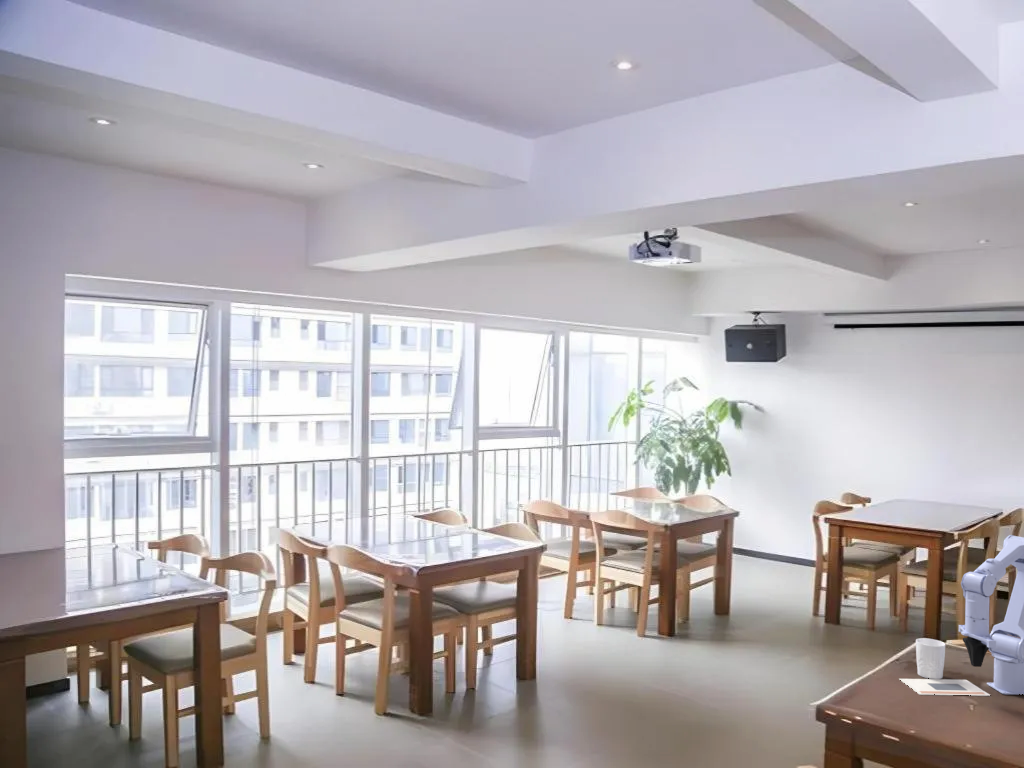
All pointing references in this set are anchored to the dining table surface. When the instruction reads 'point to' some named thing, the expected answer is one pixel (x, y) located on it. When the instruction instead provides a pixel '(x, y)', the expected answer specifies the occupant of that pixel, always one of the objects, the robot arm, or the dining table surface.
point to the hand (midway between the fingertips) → (976, 665)
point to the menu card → (944, 687)
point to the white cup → (930, 658)
